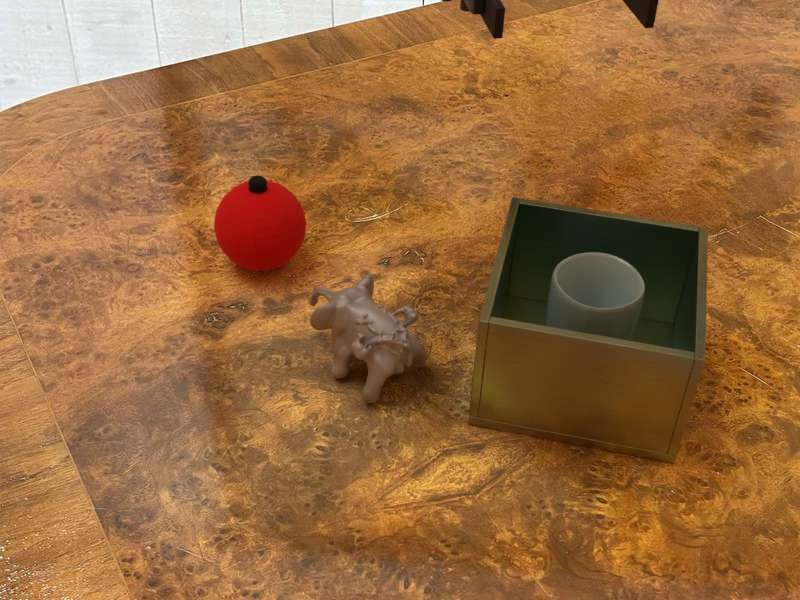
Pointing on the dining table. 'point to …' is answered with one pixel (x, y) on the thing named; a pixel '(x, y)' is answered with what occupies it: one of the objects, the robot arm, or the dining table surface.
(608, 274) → the cup
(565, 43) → the dining table surface
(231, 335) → the dining table surface
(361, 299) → the clay animal figurine
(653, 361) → the bin
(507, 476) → the dining table surface
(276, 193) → the ornament
